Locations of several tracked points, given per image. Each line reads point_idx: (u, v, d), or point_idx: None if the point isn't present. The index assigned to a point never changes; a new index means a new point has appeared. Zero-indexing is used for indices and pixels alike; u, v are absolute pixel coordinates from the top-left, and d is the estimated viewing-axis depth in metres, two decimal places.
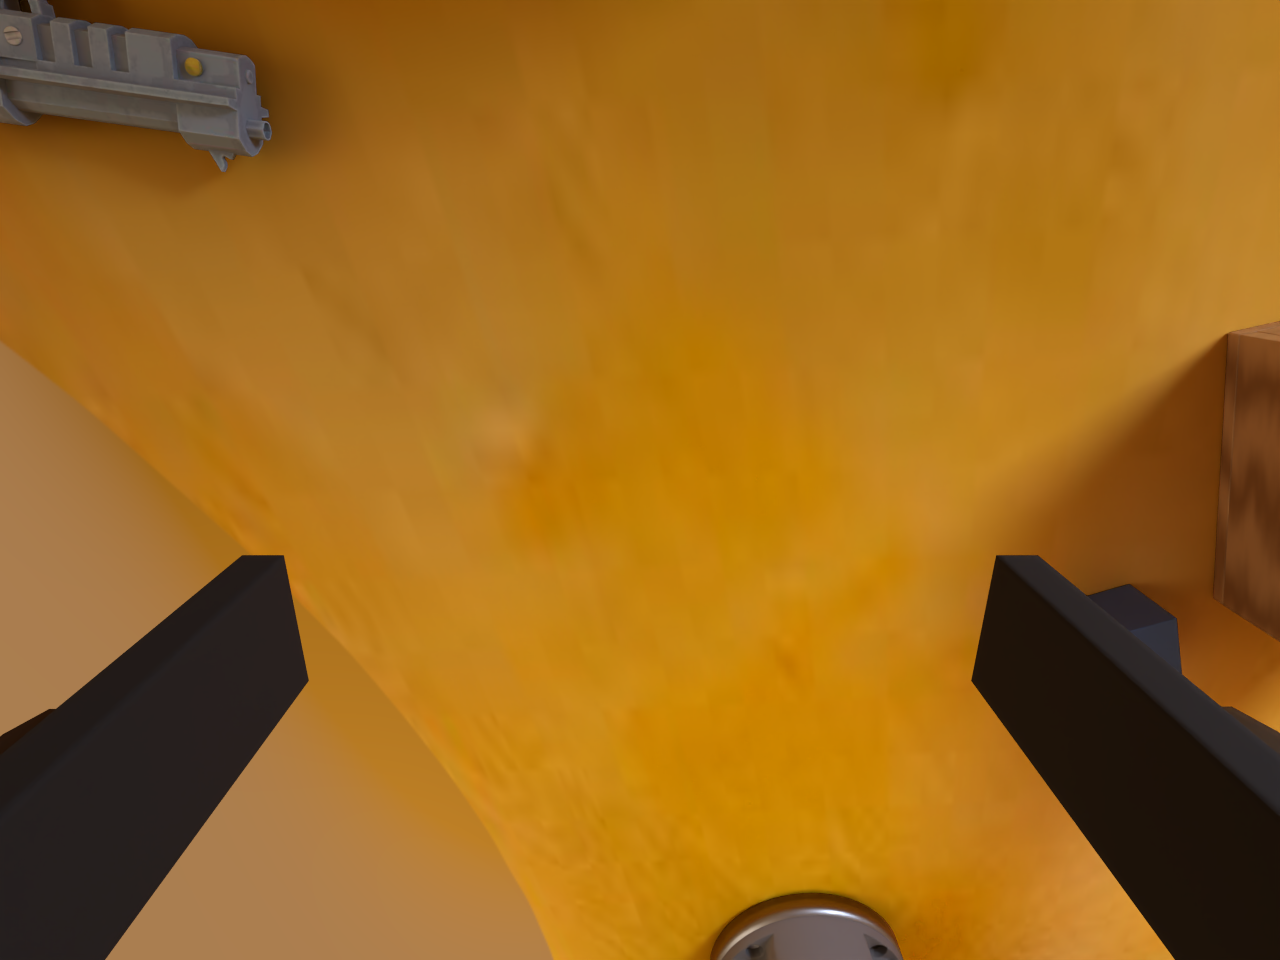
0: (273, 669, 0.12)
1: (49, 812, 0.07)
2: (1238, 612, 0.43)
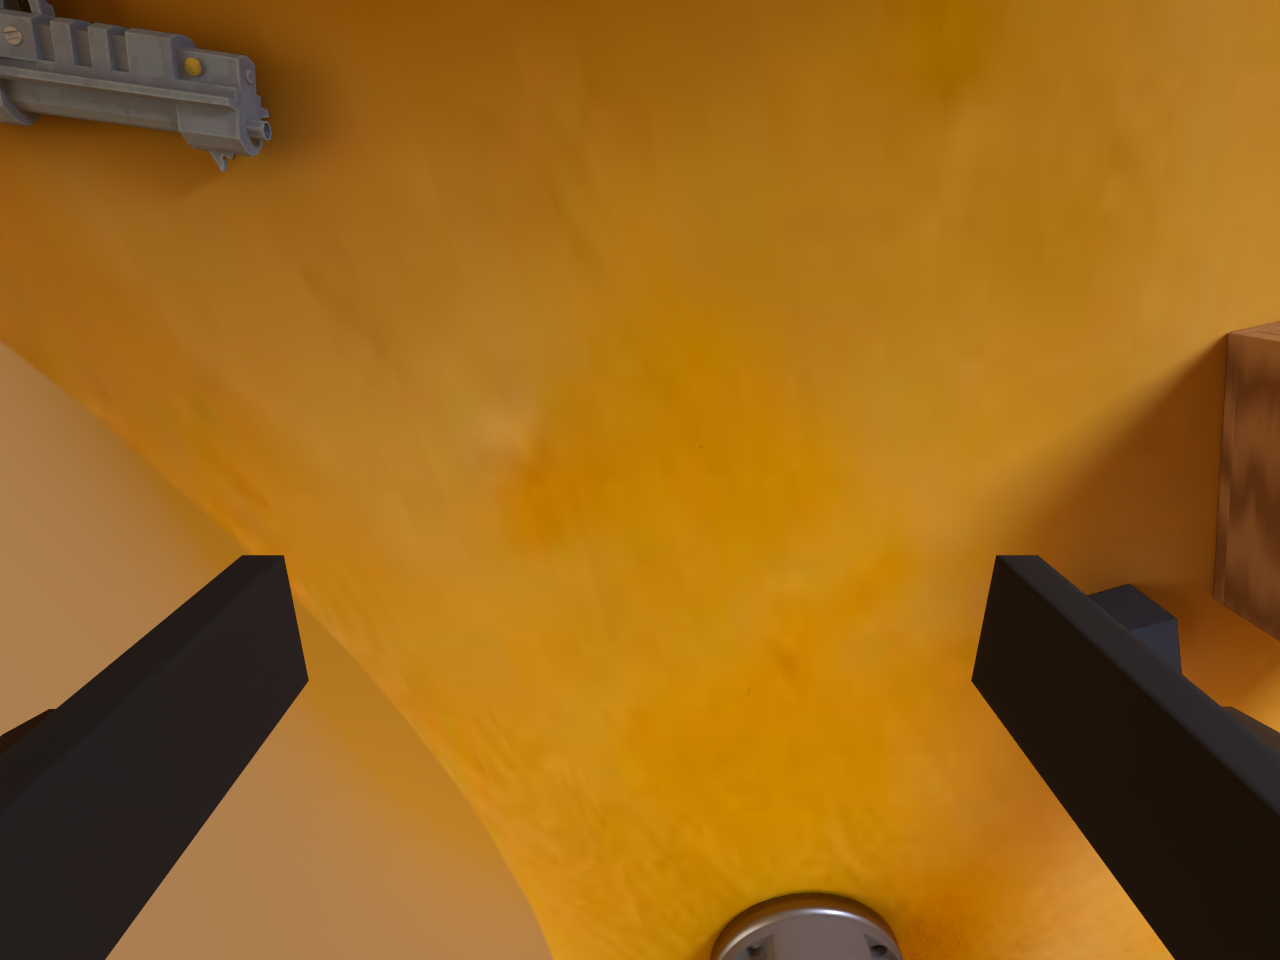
0: (273, 669, 0.12)
1: (49, 812, 0.07)
2: (1238, 612, 0.43)
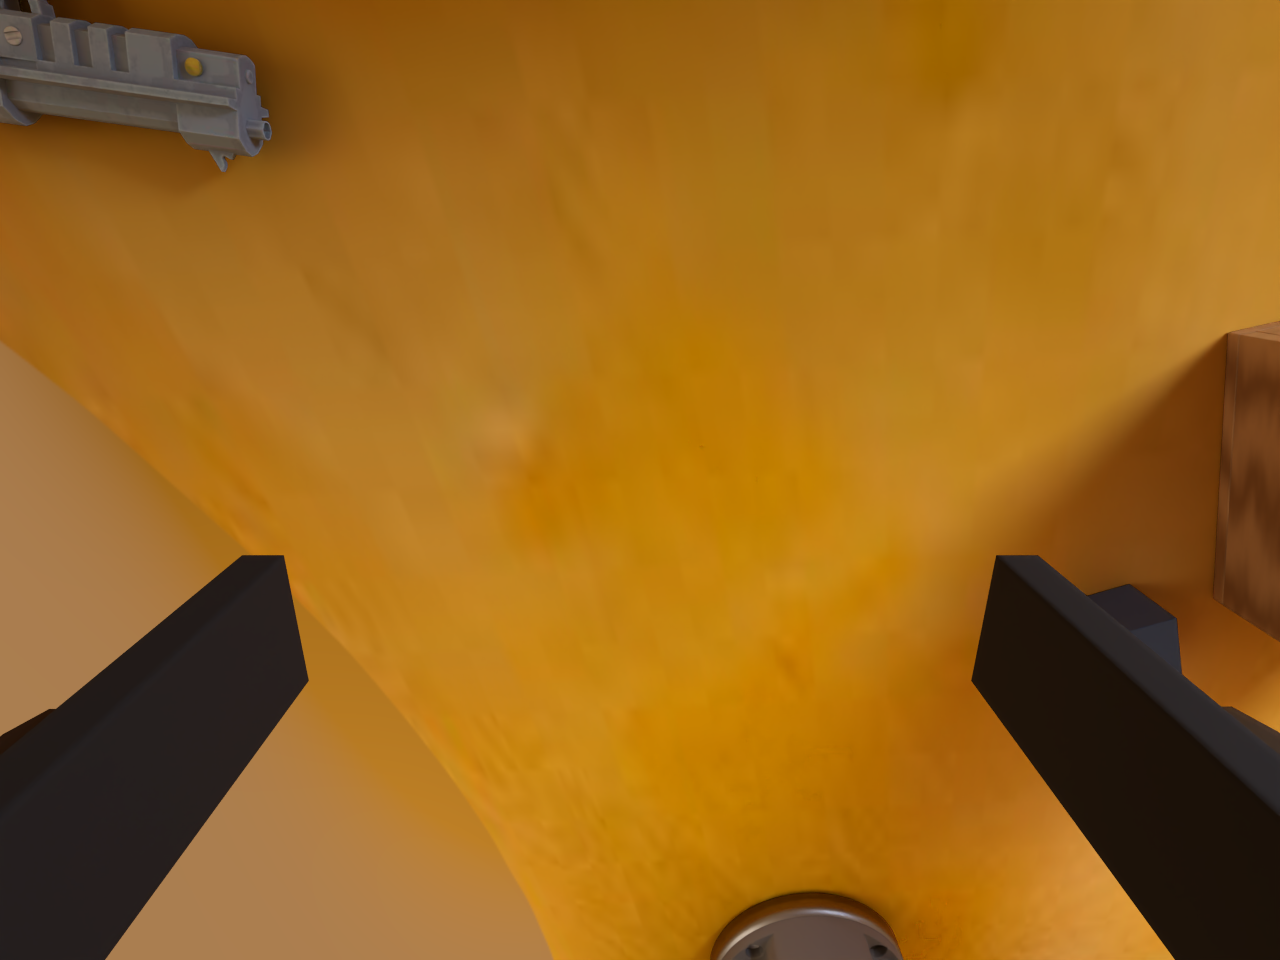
0: (273, 669, 0.12)
1: (49, 812, 0.07)
2: (1238, 612, 0.43)
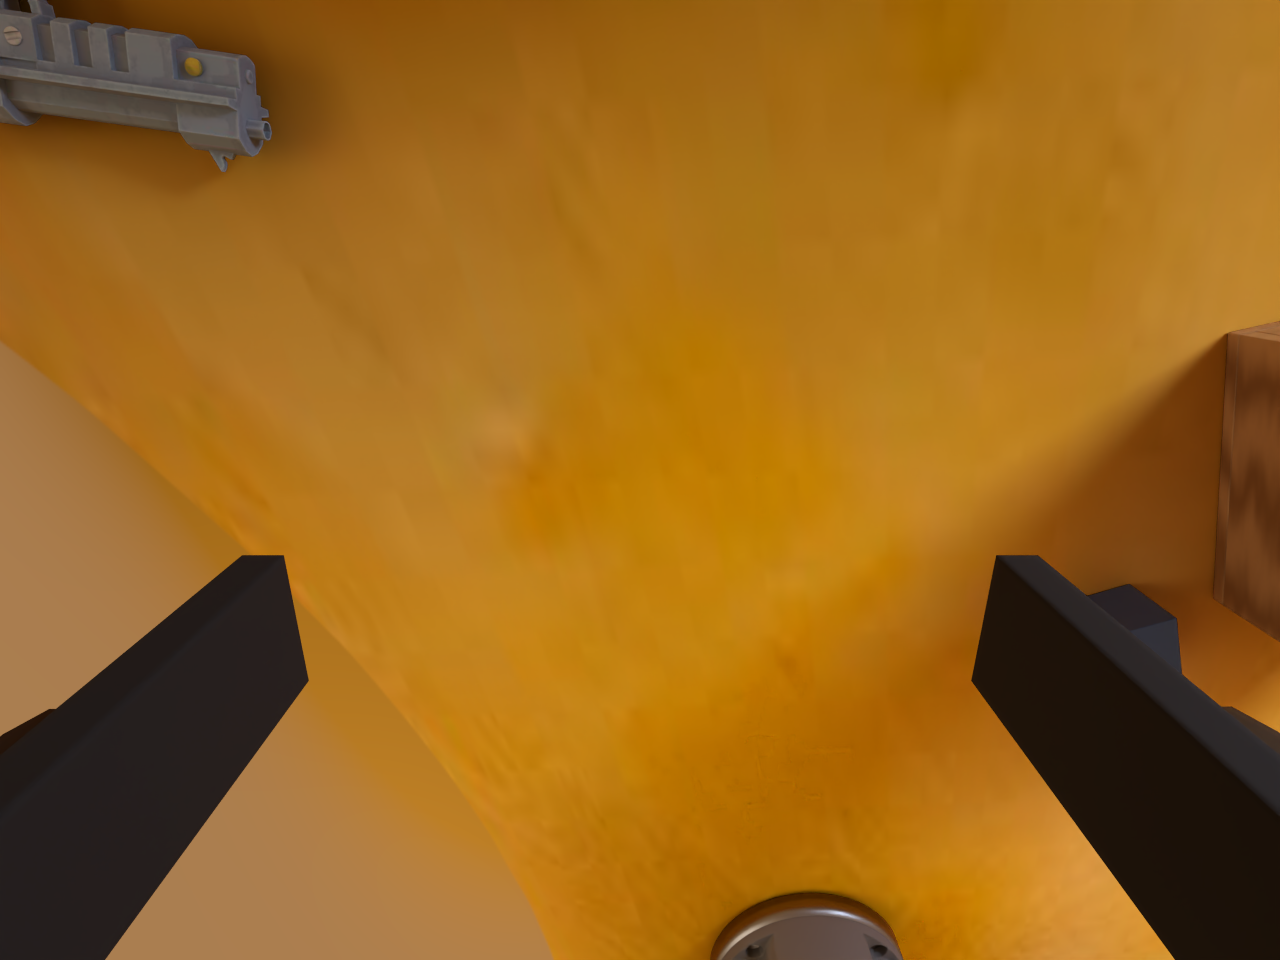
0: (273, 669, 0.12)
1: (49, 812, 0.07)
2: (1238, 612, 0.43)
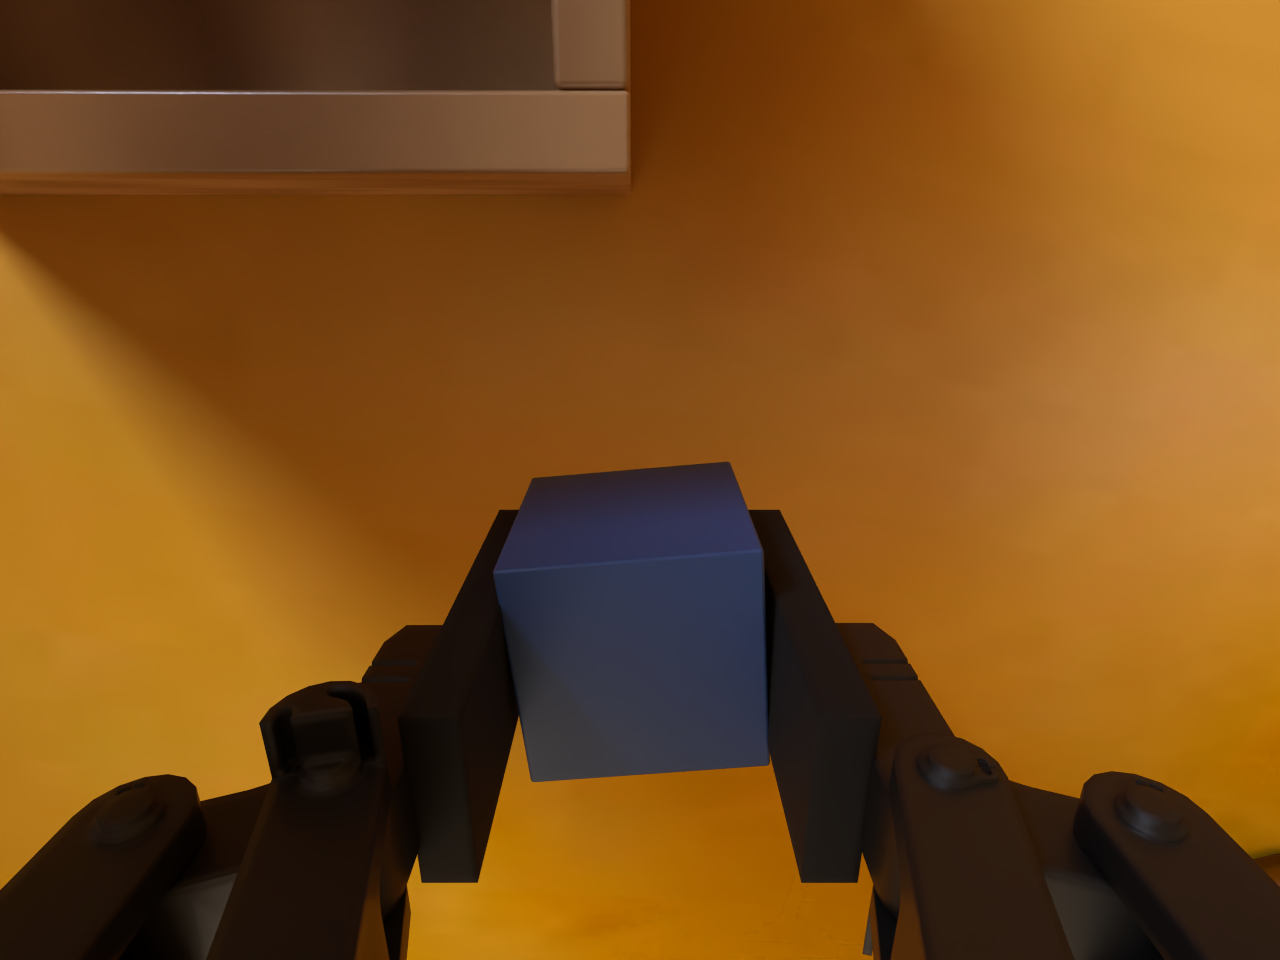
0: None
1: (481, 689, 0.10)
2: None
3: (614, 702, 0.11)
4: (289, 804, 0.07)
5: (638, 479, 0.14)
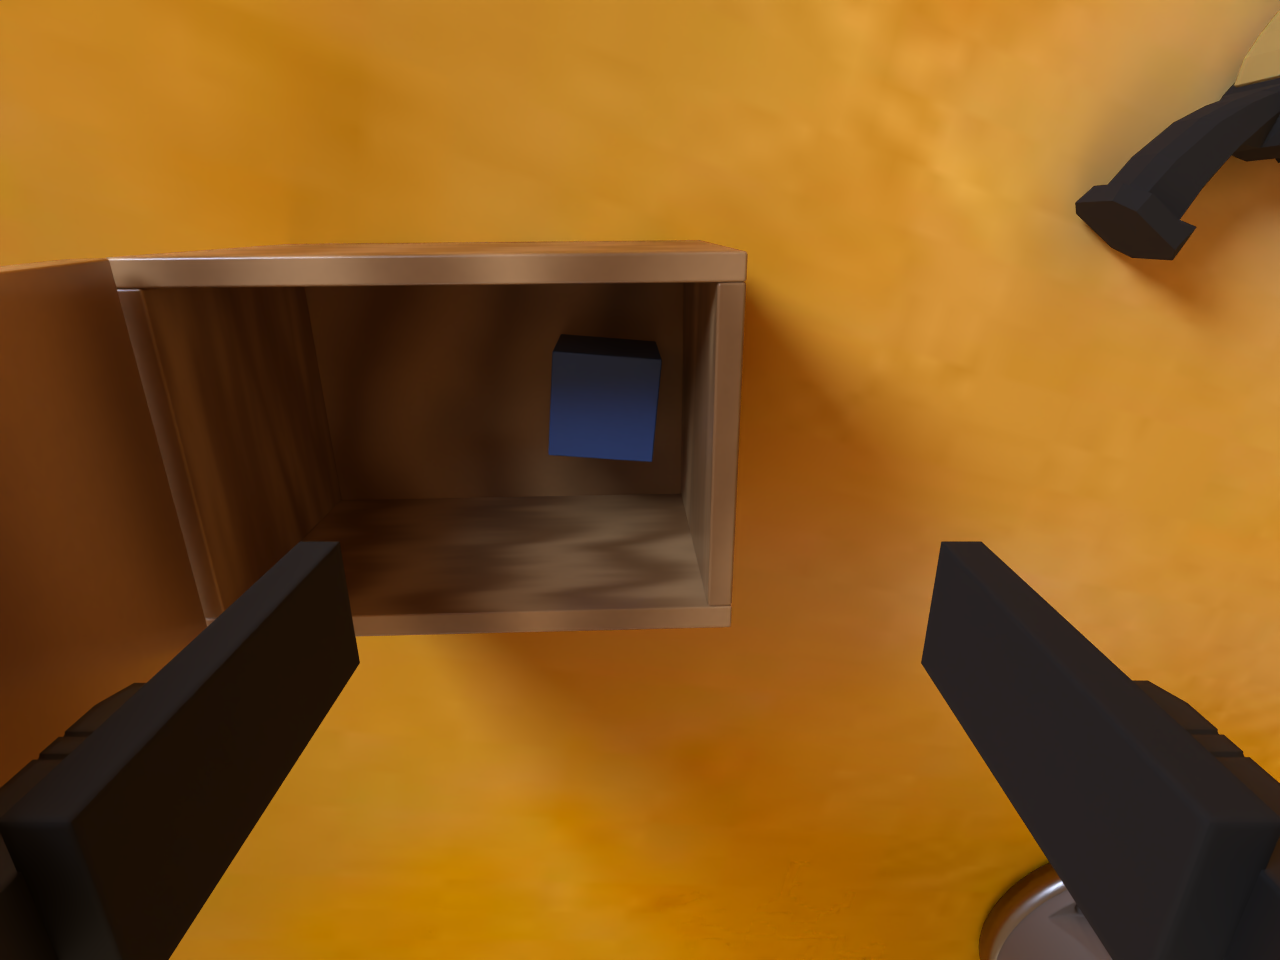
0: (331, 650, 0.13)
1: (155, 772, 0.08)
2: None
3: (591, 420, 0.27)
4: None
5: (612, 340, 0.29)
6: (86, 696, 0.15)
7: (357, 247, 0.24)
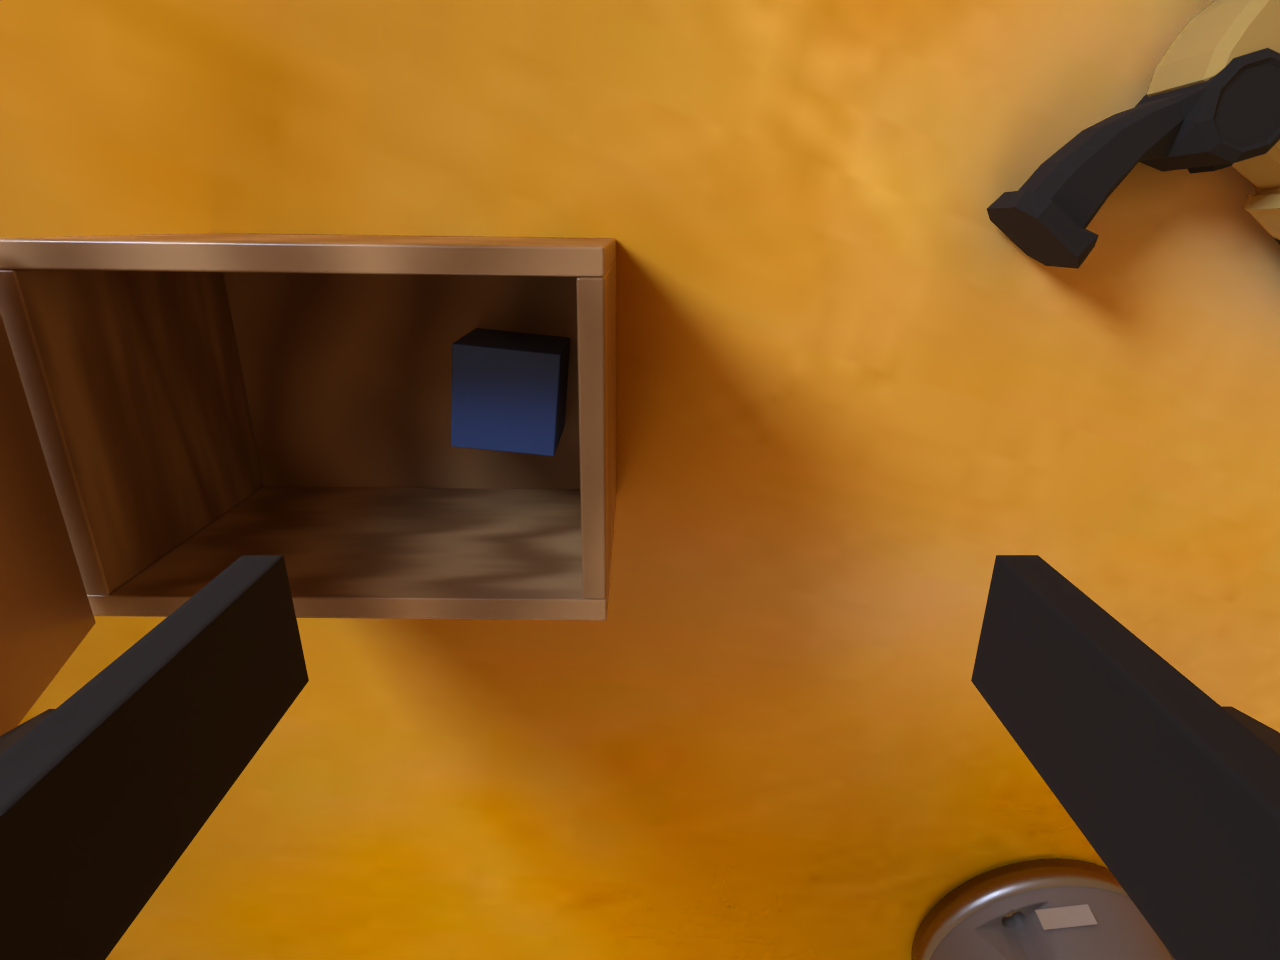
0: (273, 669, 0.12)
1: (50, 812, 0.07)
2: None
3: (492, 412, 0.27)
4: None
5: (524, 335, 0.30)
6: None
7: (258, 236, 0.25)
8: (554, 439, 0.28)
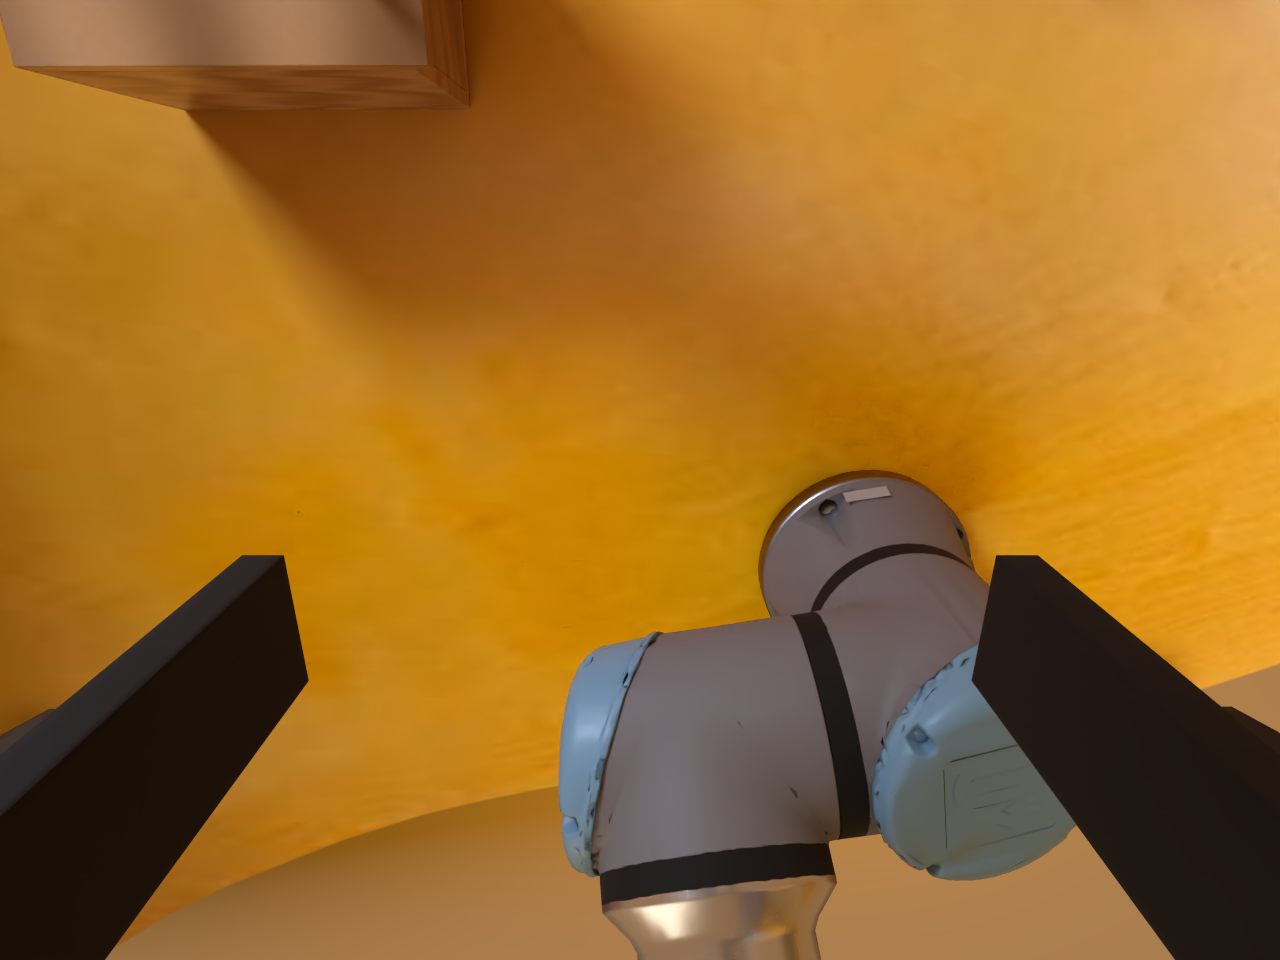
0: (273, 669, 0.12)
1: (49, 812, 0.07)
2: (458, 103, 0.40)
3: None
4: None
5: None
6: None
7: None
8: None
